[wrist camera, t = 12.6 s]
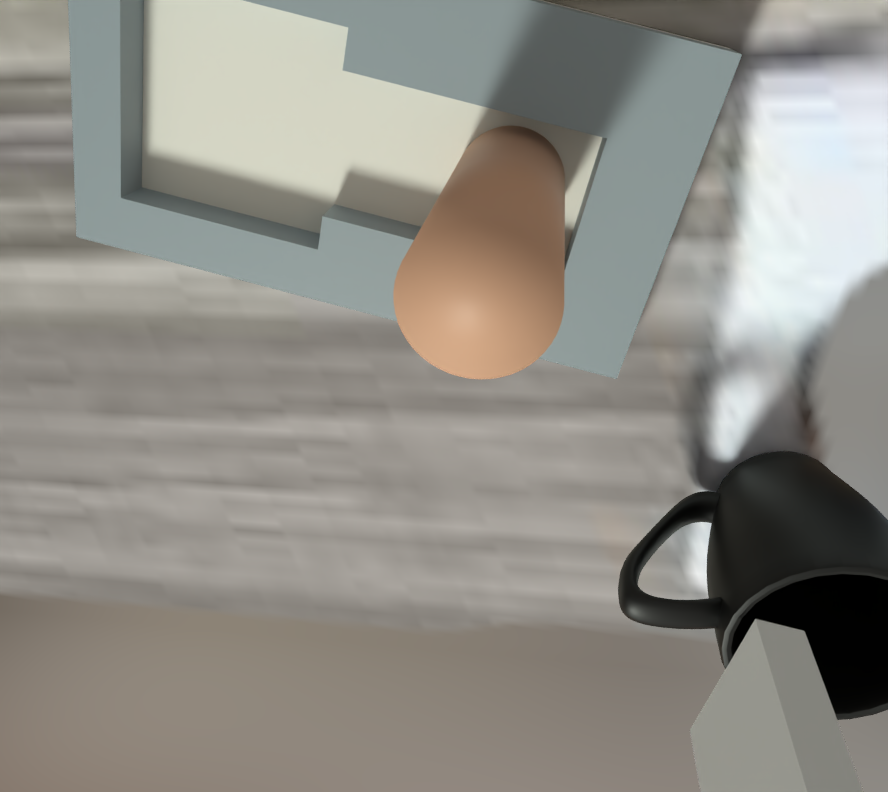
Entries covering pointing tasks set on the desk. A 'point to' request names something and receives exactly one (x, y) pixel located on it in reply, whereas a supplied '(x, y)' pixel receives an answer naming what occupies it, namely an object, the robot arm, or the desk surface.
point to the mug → (785, 571)
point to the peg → (489, 260)
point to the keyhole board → (382, 139)
